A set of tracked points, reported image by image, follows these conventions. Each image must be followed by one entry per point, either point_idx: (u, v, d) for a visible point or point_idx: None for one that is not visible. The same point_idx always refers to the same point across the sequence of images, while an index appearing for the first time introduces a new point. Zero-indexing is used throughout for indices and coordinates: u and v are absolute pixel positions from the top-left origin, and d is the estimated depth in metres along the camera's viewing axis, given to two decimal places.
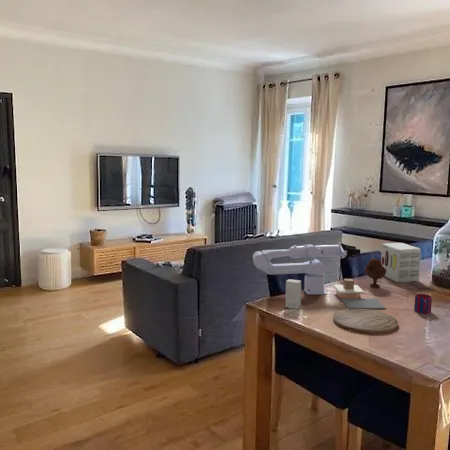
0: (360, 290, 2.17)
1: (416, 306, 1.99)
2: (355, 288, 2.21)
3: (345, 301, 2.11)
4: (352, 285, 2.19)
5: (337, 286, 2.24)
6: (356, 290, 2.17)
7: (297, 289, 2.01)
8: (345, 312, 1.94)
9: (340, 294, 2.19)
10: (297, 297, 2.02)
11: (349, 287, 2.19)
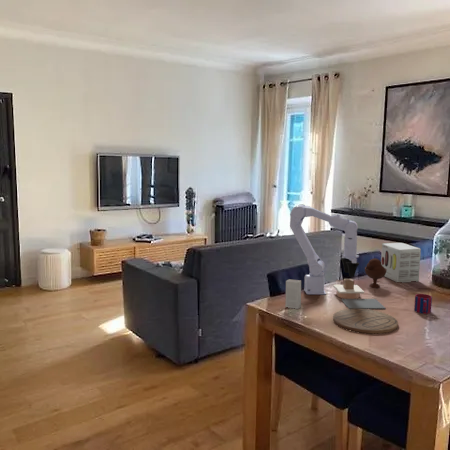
0: (360, 290, 2.17)
1: (416, 306, 1.99)
2: (355, 288, 2.21)
3: (345, 301, 2.11)
4: (352, 285, 2.19)
5: (337, 286, 2.24)
6: (356, 290, 2.17)
7: (297, 289, 2.01)
8: (345, 312, 1.94)
9: (340, 294, 2.19)
10: (297, 297, 2.02)
11: (349, 287, 2.19)
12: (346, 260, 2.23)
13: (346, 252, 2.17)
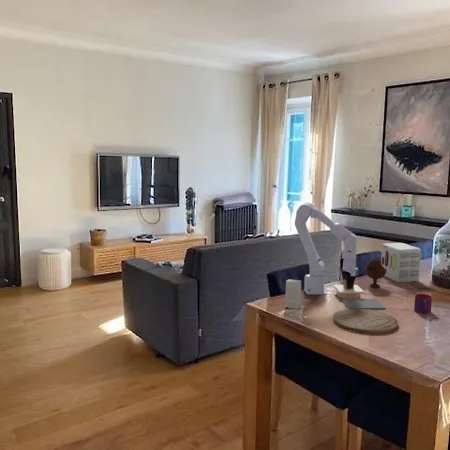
0: (360, 290, 2.17)
1: (416, 306, 1.99)
2: (355, 288, 2.21)
3: (345, 301, 2.11)
4: None
5: (337, 286, 2.24)
6: (356, 290, 2.17)
7: (297, 289, 2.01)
8: (345, 312, 1.94)
9: (340, 294, 2.19)
10: (297, 297, 2.02)
11: None
12: (346, 273, 2.23)
13: (345, 265, 2.18)
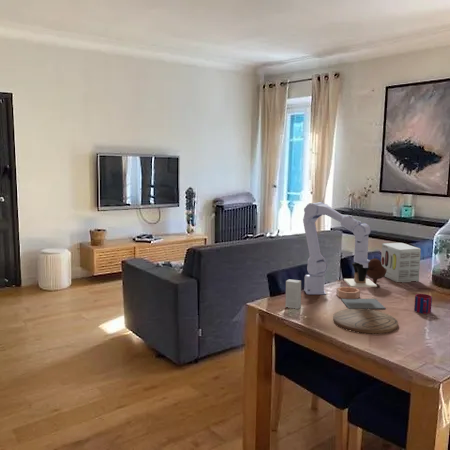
0: (372, 284, 2.07)
1: (416, 306, 1.99)
2: (367, 282, 2.10)
3: (345, 301, 2.11)
4: None
5: (348, 280, 2.14)
6: (368, 284, 2.07)
7: (297, 289, 2.01)
8: (345, 312, 1.94)
9: (340, 294, 2.19)
10: (297, 297, 2.02)
11: (361, 281, 2.09)
12: (357, 265, 2.12)
13: (357, 256, 2.08)
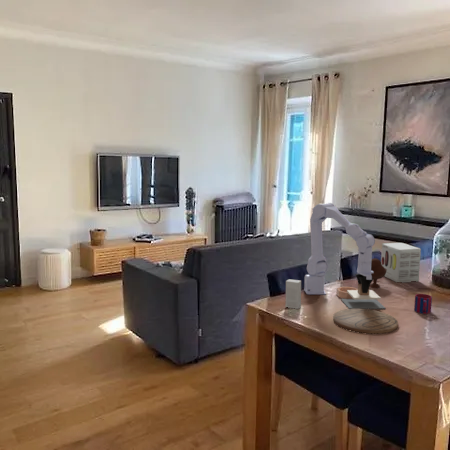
0: (376, 296, 2.04)
1: (416, 306, 1.99)
2: (370, 294, 2.08)
3: (345, 301, 2.11)
4: None
5: (351, 292, 2.11)
6: (372, 296, 2.04)
7: (297, 289, 2.01)
8: (345, 312, 1.94)
9: (340, 294, 2.19)
10: (297, 297, 2.02)
11: (364, 293, 2.06)
12: (361, 276, 2.09)
13: (360, 268, 2.05)
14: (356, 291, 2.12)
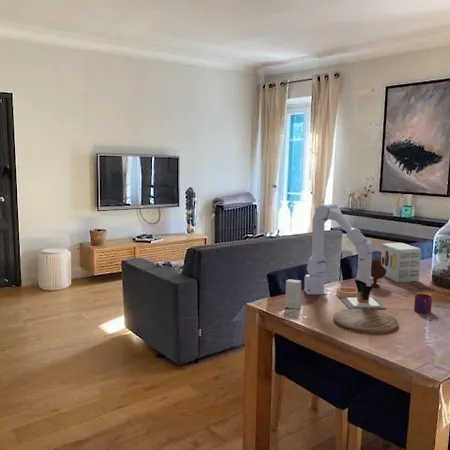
0: (375, 304, 2.05)
1: (416, 306, 1.99)
2: (370, 301, 2.08)
3: (345, 301, 2.11)
4: None
5: (351, 299, 2.12)
6: (371, 304, 2.05)
7: (297, 289, 2.01)
8: (345, 312, 1.94)
9: (340, 294, 2.19)
10: (297, 297, 2.02)
11: (364, 300, 2.07)
12: (360, 282, 2.11)
13: (360, 274, 2.05)
14: (356, 299, 2.12)
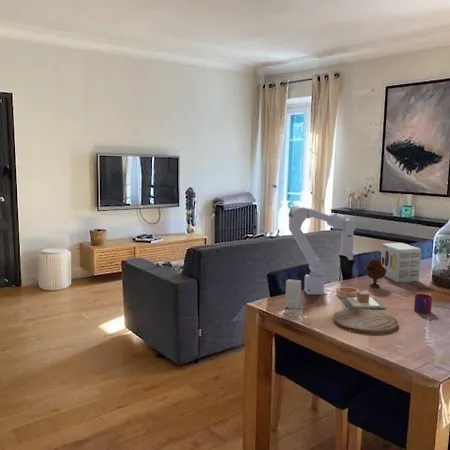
0: (375, 304, 2.05)
1: (416, 306, 1.99)
2: (370, 301, 2.08)
3: (345, 301, 2.11)
4: (367, 298, 2.07)
5: (351, 299, 2.12)
6: (371, 304, 2.05)
7: (297, 289, 2.01)
8: (345, 312, 1.94)
9: (340, 294, 2.19)
10: (297, 297, 2.02)
11: (364, 300, 2.07)
12: (343, 257, 2.30)
13: (343, 249, 2.24)
14: (356, 299, 2.12)
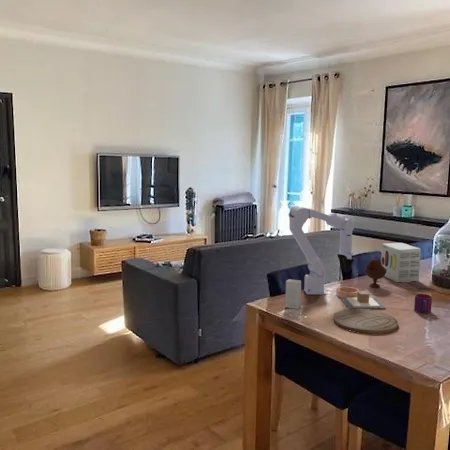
0: (375, 304, 2.05)
1: (416, 306, 1.99)
2: (370, 301, 2.08)
3: (345, 301, 2.11)
4: (367, 298, 2.07)
5: (351, 299, 2.12)
6: (371, 304, 2.05)
7: (297, 289, 2.01)
8: (345, 312, 1.94)
9: (340, 294, 2.19)
10: (297, 297, 2.02)
11: (364, 300, 2.07)
12: (342, 256, 2.32)
13: (342, 248, 2.25)
14: (356, 299, 2.12)
